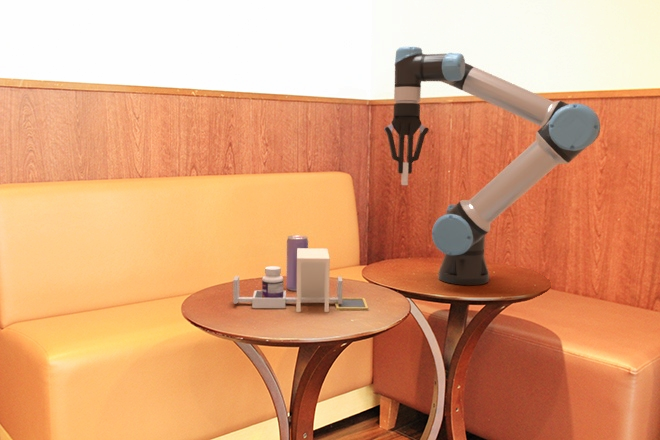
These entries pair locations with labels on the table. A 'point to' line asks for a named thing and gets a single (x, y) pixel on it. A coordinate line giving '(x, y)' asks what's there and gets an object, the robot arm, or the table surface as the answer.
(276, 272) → the pill bottle
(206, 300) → the table surface
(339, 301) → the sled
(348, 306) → the tray
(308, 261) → the tunnel
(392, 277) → the table surface
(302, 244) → the beverage can
